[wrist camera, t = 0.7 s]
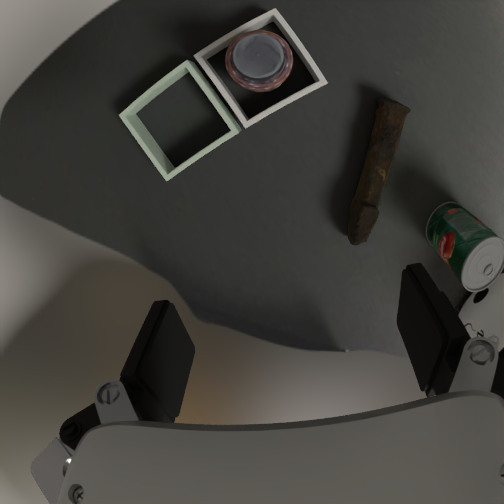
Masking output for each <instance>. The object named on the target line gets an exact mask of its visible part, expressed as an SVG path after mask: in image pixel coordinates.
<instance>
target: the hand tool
mask: <svg viewBox="0 0 504 504" xmlns="http://www.w3.org/2000/svg"><path fill="white" fill-rule="evenodd" d="M377 103H378V105H379V107H378V108H377V110H376V112H375V114H376V120H375V123H374V127H373V129H372V134H371V138H370V139H371V141H370V145H369V148H368V151H367V152H366V154H367V155H366V159H365V163H364V166H363V170H362V174H361V177H360V180H359V184H358V187H357V190H356V194H355V196H354V197H353V198H352V201H351V205H350V211H349V220H348V239H349V241H350V243H351V244H352V245H358V244H360V243H363V242H366V241H367V238H368V236H369V234H370V233H371V230H372V228H373V226H374V224H375V223H376V221H377V218H378V215H379V211H378V206H379V204H380V200H381V196H382V193H383V190H384V187H385V185H386V182H387V179H388V176H389V173H390V170H391V167H392V164H393V161H394V158H395V154H396V150H397V147H398V143H399V140H400V136H401V131H402V128H403V124H404V120H405V118H406V115H407V114H408V113H409V112H410V109H409V108H408V107H406V106H404V105H402V104H400V103H398V102H397V101H393V100H390V99H385V98H379V99H377Z"/></svg>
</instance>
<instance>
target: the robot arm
mask: <svg viewBox="0 0 504 504" xmlns="http://www.w3.org/2000/svg"><path fill="white" fill-rule="evenodd" d="M397 326H398V329H399V331H400V334H401V336H402V339H403V342H404V344H405V347H406V349H407V352H408V355H409V358H410V360H411V363H412V366H413V369H414V372H415V375H416V377H417V380H418V383H419V386H420V389H421V391H425V393H426V396H427V398H424V399H420V400H416V401H413V402H408V403H404V404H400V405H396V406H391V407H387V408H382V409H378V410H373V411H367V412H362V413H357V414H351V415H345V416H339V417H332V418H325V419H317V420H309V421H299V422H287V423H273V424H250V425H204V424H182V423H174V421H175V417H178V416H179V413H180V409H181V405H182V401H183V397H184V393H185V389H186V385H187V381H188V377H189V374H190V369H191V366H192V362H193V358H194V354H195V347H194V344H193V342H192V340H191V338H190V336H189V334H188V332H187V330H186V328H185V327H184V324H183V323H182V320H181V318H180V317H179V314H178V312H177V310H176V309H175V306H174V304H173V303H170V302H169V301H168V300H161V301H155V302H154V303H153V304H152V307H151V309H150V311H149V313H148V315H147V317H146V319H145V321H144V324H143V325H142V328H141V330H140V332H139V334H138V336H137V338H136V341H135V343H134V345H133V347H132V349H131V352H130V354H129V356H128V358H127V361H126V363H125V365H124V367H123V370H122V372H121V374H120V375H121V377H120V380H116V379H110V380H107V381H105V382H103V383H102V384H100V385H99V387H98V388H97V389H96V391H95V394H94V403H93V404H91V405H90V406H88V407H86V408H85V409H83V410H82V411H80V412H78V413H77V414H75V415H74V416H72V417H70V418H69V419H67V420H66V421H65V422H64V423H63V425H62V426H61V428H60V433H59V434H60V438H59V439H58V438H57V437H56V438H55V439H54V440H53V441H52V442H51V443H50V444H49V445H48V446H47V447H46V448H45V449H44V450H43V451H42V452H41V453H40V454H39V455H38V456H37V457H36V458H35V459H34V461H33V462H32V465H31V473H32V475H33V477H34V479H35V481H36V482H37V484H38V486H39V487H40V489H41V491H42V492H43V494H44V495H45V497H46V498H47V500H48V501H49V503H50V504H504V359H503V358H500V357H498V353H499V352H498V349H497V347H496V345H495V344H494V342H492V341H491V340H490V339H488V338H486V337H481V336H479V337H474V338H471V337H470V335H469V333H468V332H467V330H466V328H465V326H464V324H463V323H462V321H461V319H460V318H459V316H458V314H457V313H456V311H455V309H454V308H453V306H452V304H451V303H450V301H449V300H448V298H447V296H446V295H445V294H444V292H442V291H441V292H440V291H439V289H438V288H437V286H436V285H435V283H434V282H433V280H432V279H431V277H430V275H429V274H428V273H427V271H426V270H425V268H424V267H423V265H422V264H421V263H416V264H410V265H407V267H406V269H404V270H403V271H402V280H401V290H400V298H399V306H398V314H397ZM434 395H436V396H434ZM431 396H432V397H431Z"/></svg>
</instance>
